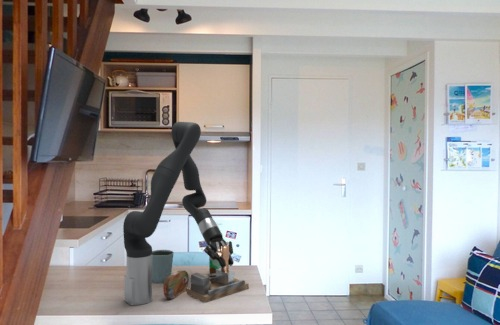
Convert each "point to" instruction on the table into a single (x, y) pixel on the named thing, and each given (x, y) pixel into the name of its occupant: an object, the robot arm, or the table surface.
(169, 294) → the tin
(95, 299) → the table surface
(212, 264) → the food container
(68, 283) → the table surface
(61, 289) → the table surface
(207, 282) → the railed wooden base
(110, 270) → the table surface
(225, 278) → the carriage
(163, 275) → the teal cup
